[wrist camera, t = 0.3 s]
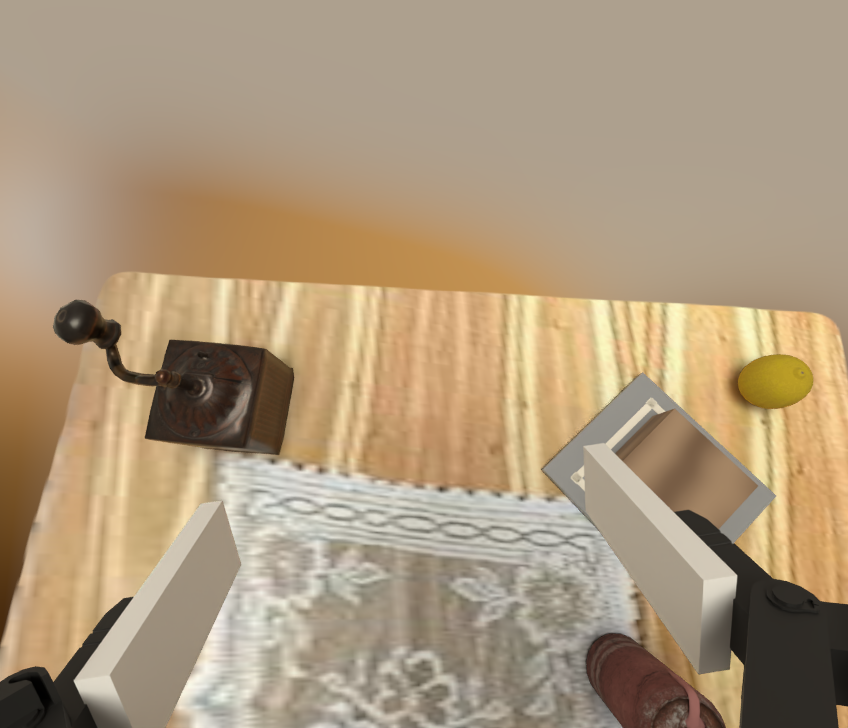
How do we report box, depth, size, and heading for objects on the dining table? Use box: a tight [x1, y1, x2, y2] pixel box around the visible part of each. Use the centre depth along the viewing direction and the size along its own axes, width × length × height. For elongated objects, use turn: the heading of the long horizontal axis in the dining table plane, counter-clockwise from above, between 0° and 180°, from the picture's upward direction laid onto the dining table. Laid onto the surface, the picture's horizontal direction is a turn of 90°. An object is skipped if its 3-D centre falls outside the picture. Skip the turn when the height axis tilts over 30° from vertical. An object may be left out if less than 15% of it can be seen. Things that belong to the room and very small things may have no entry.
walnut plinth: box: [615, 409, 758, 529], centre depth 45 cm, size 10×10×5 cm
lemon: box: [738, 354, 813, 409], centre depth 47 cm, size 6×6×8 cm
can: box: [586, 633, 726, 728], centre depth 38 cm, size 6×6×14 cm
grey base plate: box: [541, 373, 776, 544], centre depth 48 cm, size 18×16×1 cm
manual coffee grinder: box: [53, 300, 294, 455], centre depth 44 cm, size 16×11×18 cm
